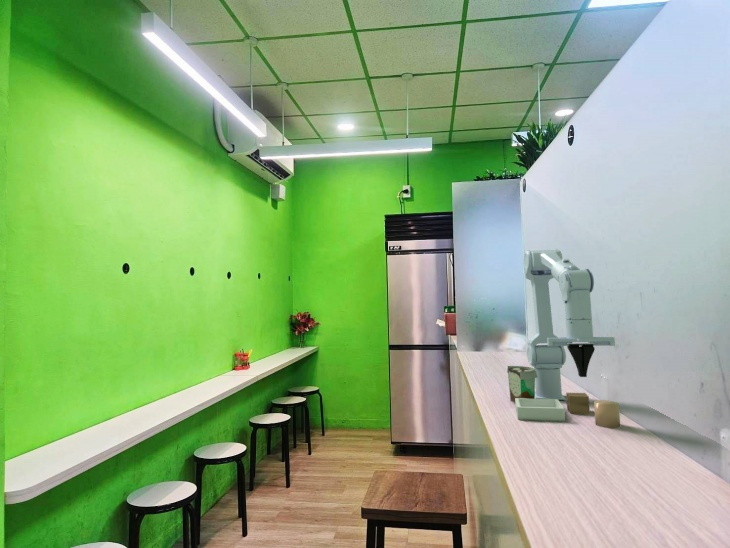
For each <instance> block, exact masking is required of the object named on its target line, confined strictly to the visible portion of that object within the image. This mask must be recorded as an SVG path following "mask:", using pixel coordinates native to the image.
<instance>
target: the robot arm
mask: <svg viewBox="0 0 730 548" xmlns="http://www.w3.org/2000/svg"><path fill="white" fill-rule="evenodd" d="M523 271H524V273H523V274H524V277H525V279H526V280H529V281H530V285H531V290H532V291H531V292H532V300H533V301H532V302H533V311H534V312H533V313H534V321H535V334H534V335H533V336H532V337H530V339H528V341H527V351H526V354H527V355H526V356H527V362H528V364H529V365H530V367H532V368H534V369H535V371H536V373H537V378H535V399H558V400H559V401H566V397H565V396H564V395H563V393H562V391H563V390H562V379H561V368H563V366H564V365H565V363H566V362H567V354H566V349H565V347H567V351H568V352H569V354H570V355H571V357H572V359H573V362H574V364H575V366H576V367H575V368H577V370H576V371H577V373H578V377H579V378H587V377H588V369H589V365H590V361H591V359H592V356H593V355H594V353H595V351H596V350H595V346H596V347H597V346H606V347H607V346H609V347H615V346H616V339H615V337H613V336H594V332H593V330H594V329H593V317H592V316H593V315H592V303H591V302H592V301H591V293H592V292H593V291H594V285H595V280H594V275H593V272H592V271H591V270H590V269H589V268H585V269H580V268H579V267H578V266H577V265H575V264H573V262H572V261H570V259H569V258H563V254H562V251H561V250H559V249H558V248H556V249H555V248H554V249H545V250H543V249H542V250H541V249H540V250H526V251H525V252H524V255H523ZM552 279H555V280H556V281H557V282H558V284H559V289H560V292H561V299H562V301H563V303H564V312H565V316H564V317H565V328H566V331H565V332H566V336H565V337H564V336H561V337H559V336H557V335H555V333H554V325H553V317H552V315H553V314H552V307H551V306H552V305H551V297H550V296H551V295H550V288H549V287H550V286H549V282H550V281H551V280H552ZM539 344H540V345H539Z"/></svg>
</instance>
